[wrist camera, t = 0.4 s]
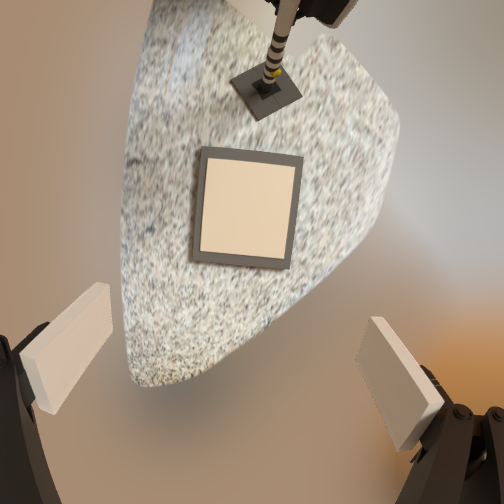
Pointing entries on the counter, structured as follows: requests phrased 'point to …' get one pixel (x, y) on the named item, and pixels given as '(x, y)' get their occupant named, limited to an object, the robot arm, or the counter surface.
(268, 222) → the plate
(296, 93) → the miniature traffic light
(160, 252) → the counter surface
